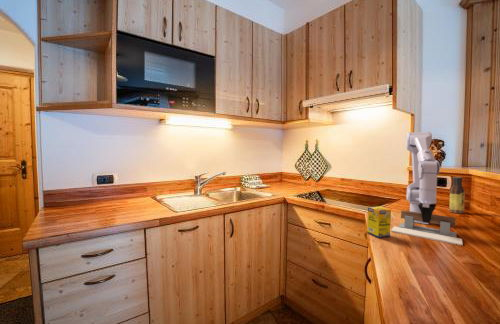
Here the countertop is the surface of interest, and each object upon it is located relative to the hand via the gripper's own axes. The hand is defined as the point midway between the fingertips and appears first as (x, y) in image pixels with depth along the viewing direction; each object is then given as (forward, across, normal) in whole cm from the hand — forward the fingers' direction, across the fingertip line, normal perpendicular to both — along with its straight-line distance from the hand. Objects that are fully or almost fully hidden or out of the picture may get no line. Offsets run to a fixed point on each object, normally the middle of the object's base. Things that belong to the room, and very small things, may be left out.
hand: (426, 221), depth 97 cm
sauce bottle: (+4, -50, +10) cm, 51 cm away
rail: (0, 0, 0) cm, 0 cm away
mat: (+4, +8, 0) cm, 9 cm away
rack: (+4, 0, 0) cm, 4 cm away
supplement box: (+4, +20, -14) cm, 24 cm away
